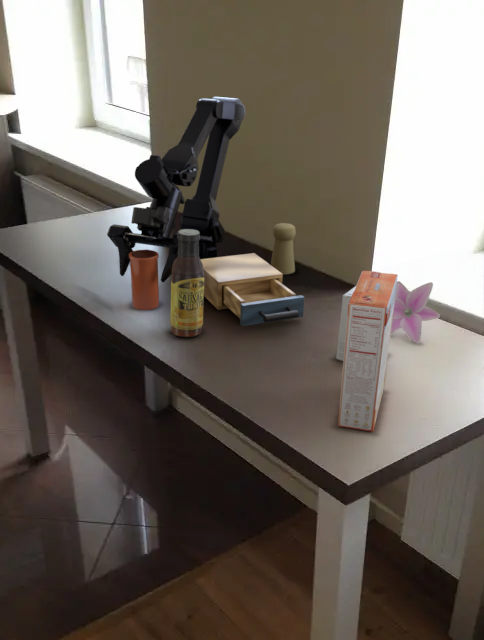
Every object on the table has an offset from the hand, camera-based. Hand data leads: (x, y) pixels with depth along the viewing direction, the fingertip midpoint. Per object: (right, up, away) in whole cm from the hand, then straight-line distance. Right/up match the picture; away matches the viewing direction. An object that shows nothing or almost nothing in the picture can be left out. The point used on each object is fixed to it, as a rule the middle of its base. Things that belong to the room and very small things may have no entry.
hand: (141, 278), depth 151 cm
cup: (0, -5, +4) cm, 7 cm away
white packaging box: (+42, -17, -15) cm, 48 cm away
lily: (+52, -12, -5) cm, 54 cm away
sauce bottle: (+10, -12, -7) cm, 17 cm away
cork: (+30, +6, +25) cm, 40 cm away
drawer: (+25, -7, 0) cm, 26 cm away
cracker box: (+39, -26, -32) cm, 57 cm away
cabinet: (+19, -2, +11) cm, 22 cm away
